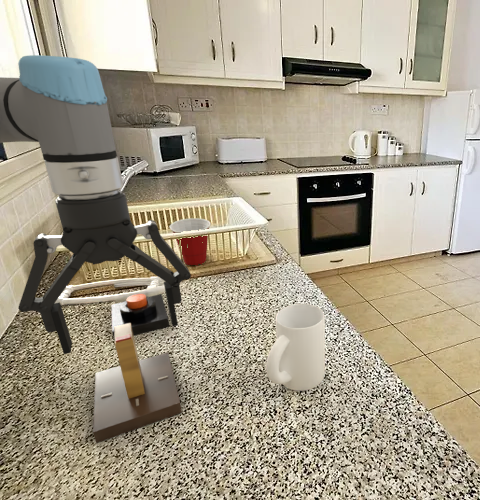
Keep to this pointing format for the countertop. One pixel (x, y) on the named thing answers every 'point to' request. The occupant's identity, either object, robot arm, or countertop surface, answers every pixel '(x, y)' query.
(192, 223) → the plastic cup
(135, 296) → the bell button
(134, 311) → the black base
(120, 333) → the lock turn
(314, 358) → the mug
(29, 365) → the countertop surface
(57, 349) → the countertop surface
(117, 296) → the door handle
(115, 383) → the plate
